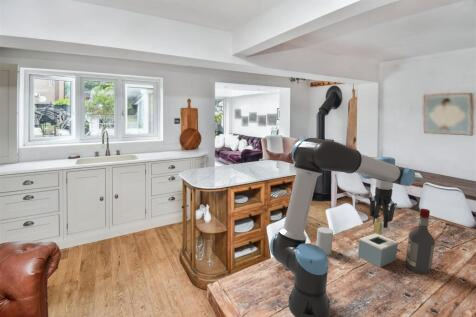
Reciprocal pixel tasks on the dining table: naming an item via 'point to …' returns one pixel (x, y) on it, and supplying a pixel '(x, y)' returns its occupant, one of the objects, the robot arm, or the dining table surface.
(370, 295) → the dining table surface
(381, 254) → the open-top box
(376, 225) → the block
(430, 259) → the liquor
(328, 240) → the cup
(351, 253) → the dining table surface
